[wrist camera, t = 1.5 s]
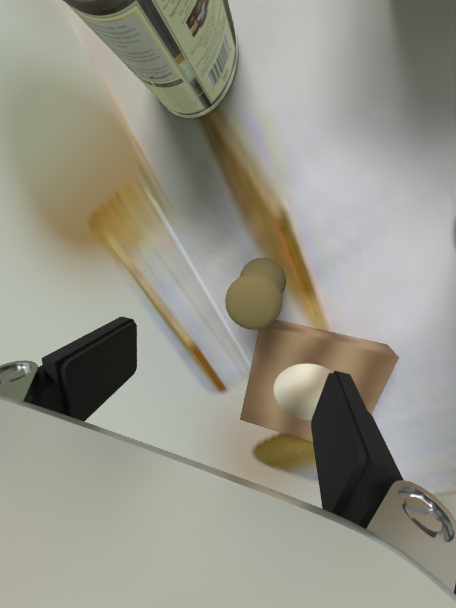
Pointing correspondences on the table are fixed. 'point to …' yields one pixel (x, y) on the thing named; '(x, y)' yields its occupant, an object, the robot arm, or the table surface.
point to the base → (308, 374)
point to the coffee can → (170, 47)
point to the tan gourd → (256, 294)
